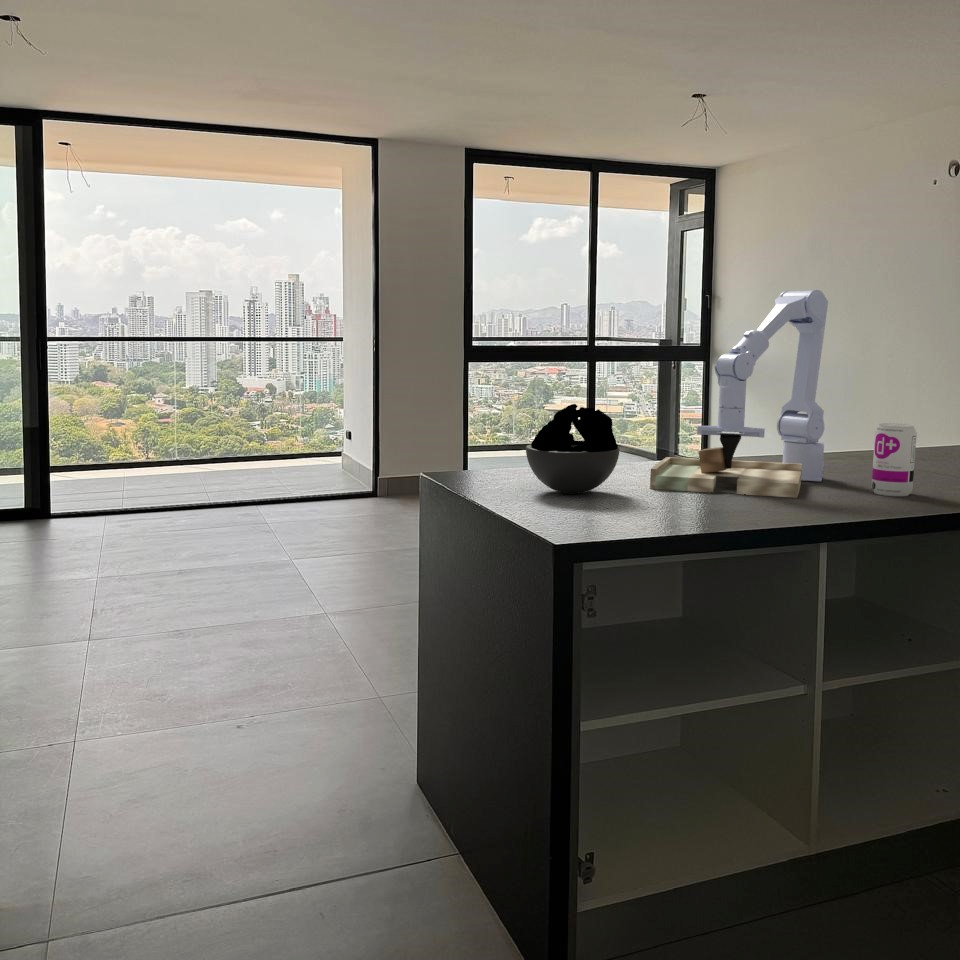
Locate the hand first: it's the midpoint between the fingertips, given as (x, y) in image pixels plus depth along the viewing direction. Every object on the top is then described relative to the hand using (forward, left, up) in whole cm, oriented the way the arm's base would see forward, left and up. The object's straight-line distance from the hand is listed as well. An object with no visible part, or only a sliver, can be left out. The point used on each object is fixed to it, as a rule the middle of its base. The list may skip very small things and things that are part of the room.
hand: (728, 468), depth 221 cm
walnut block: (+3, 0, -1) cm, 3 cm away
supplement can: (-34, -3, -4) cm, 35 cm away
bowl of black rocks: (+31, +22, -4) cm, 38 cm away
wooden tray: (0, -1, -4) cm, 4 cm away
